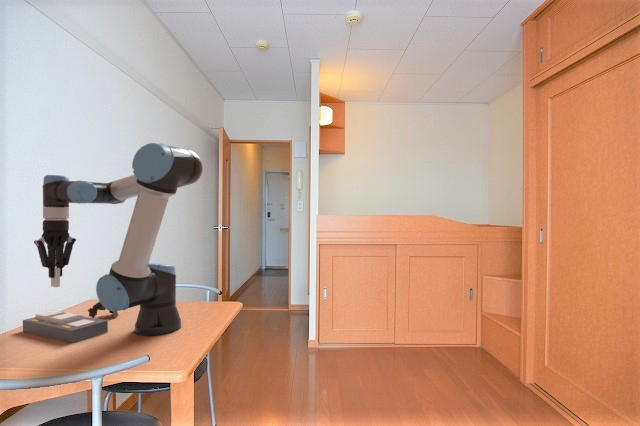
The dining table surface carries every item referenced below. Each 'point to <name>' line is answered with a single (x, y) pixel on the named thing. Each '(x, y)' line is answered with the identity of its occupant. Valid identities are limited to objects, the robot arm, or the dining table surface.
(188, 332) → the dining table surface
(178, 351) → the dining table surface
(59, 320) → the key middle
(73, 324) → the key
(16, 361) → the dining table surface
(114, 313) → the dark brown knobbly arch
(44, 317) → the key
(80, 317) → the keypad
